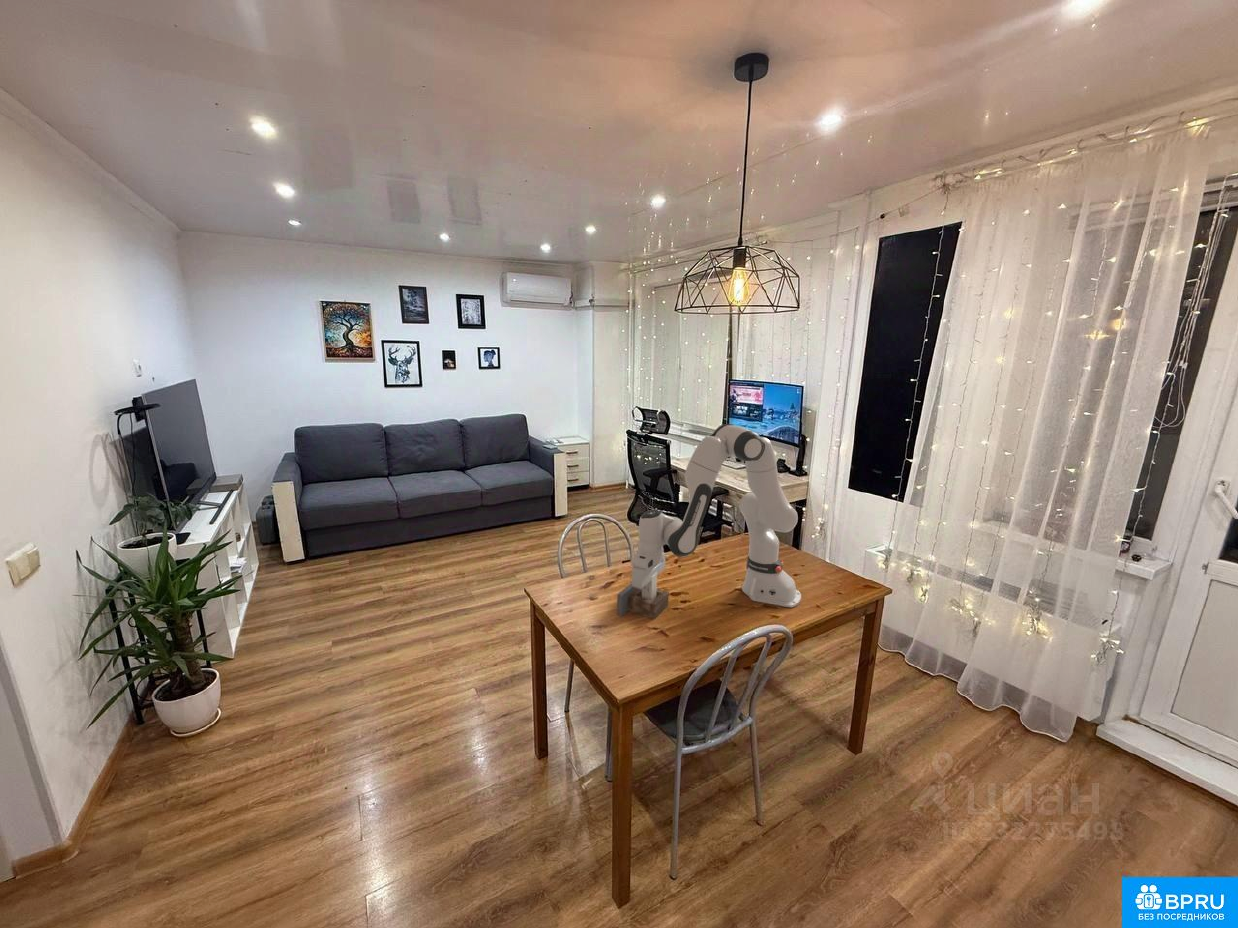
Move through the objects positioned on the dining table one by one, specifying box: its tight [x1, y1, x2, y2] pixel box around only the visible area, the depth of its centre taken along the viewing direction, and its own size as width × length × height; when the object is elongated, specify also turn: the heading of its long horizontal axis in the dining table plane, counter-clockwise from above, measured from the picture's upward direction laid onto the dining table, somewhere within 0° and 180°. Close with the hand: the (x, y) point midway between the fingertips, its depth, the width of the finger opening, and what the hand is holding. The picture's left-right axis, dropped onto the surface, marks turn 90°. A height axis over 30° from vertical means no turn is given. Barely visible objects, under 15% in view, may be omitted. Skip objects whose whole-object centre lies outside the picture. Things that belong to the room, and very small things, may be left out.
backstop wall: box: [616, 582, 638, 617], centre depth 185 cm, size 2×20×8 cm, turn 149°
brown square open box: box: [627, 588, 670, 620], centre depth 182 cm, size 11×11×6 cm
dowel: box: [642, 573, 658, 601], centre depth 181 cm, size 4×4×10 cm
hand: (649, 589), depth 181 cm, fingers closed on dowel, 4 cm apart
